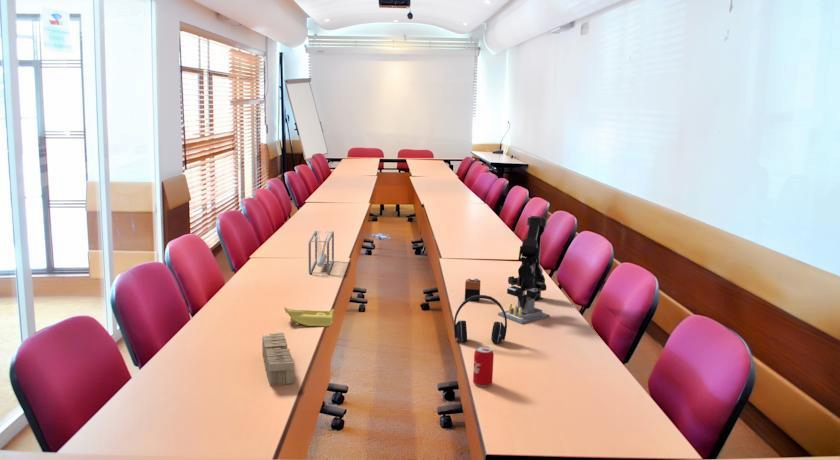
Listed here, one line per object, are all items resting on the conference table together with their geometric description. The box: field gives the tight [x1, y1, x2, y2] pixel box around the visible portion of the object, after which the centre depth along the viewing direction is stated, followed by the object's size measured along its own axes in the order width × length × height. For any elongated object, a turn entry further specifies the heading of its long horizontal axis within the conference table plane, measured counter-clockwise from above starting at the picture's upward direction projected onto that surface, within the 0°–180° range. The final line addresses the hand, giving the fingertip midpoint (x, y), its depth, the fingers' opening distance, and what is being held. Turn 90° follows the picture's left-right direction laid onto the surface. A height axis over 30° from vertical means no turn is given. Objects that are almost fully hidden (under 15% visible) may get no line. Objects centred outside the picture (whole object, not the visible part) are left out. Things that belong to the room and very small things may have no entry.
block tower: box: [261, 332, 295, 387], centre depth 223 cm, size 8×8×29 cm
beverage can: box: [472, 345, 495, 388], centre depth 215 cm, size 6×6×12 cm
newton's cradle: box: [308, 230, 335, 275], centre depth 357 cm, size 30×10×18 cm, turn 2°
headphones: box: [453, 294, 508, 344], centre depth 252 cm, size 20×7×18 cm, turn 88°
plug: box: [517, 297, 536, 314], centre depth 286 cm, size 4×6×6 cm
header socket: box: [497, 303, 551, 325], centre depth 285 cm, size 17×14×6 cm
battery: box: [464, 278, 481, 302], centre depth 307 cm, size 4×7×10 cm, turn 83°
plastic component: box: [283, 306, 335, 327], centre depth 270 cm, size 20×7×10 cm
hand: (525, 307), depth 286 cm, fingers closed on plug, 4 cm apart
